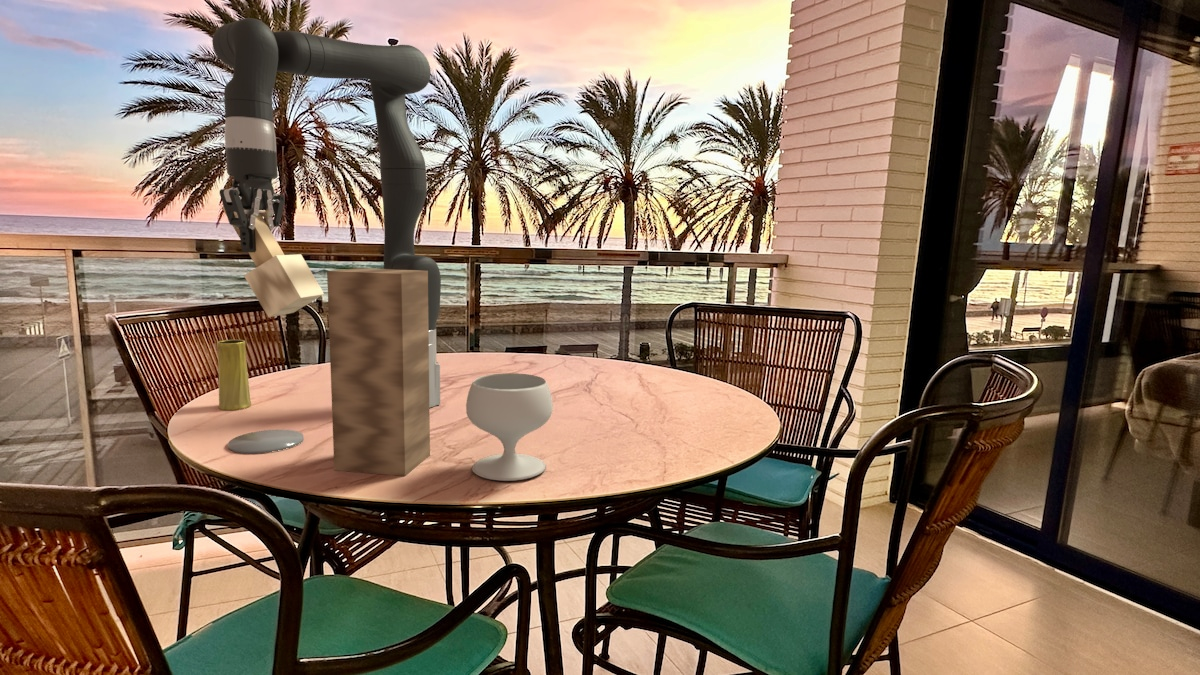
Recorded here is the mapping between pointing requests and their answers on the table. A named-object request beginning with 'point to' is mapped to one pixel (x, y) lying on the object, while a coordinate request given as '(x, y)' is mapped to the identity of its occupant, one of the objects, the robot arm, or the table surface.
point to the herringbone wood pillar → (379, 369)
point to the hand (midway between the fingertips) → (257, 251)
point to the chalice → (509, 421)
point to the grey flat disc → (265, 441)
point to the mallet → (278, 274)
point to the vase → (233, 375)
